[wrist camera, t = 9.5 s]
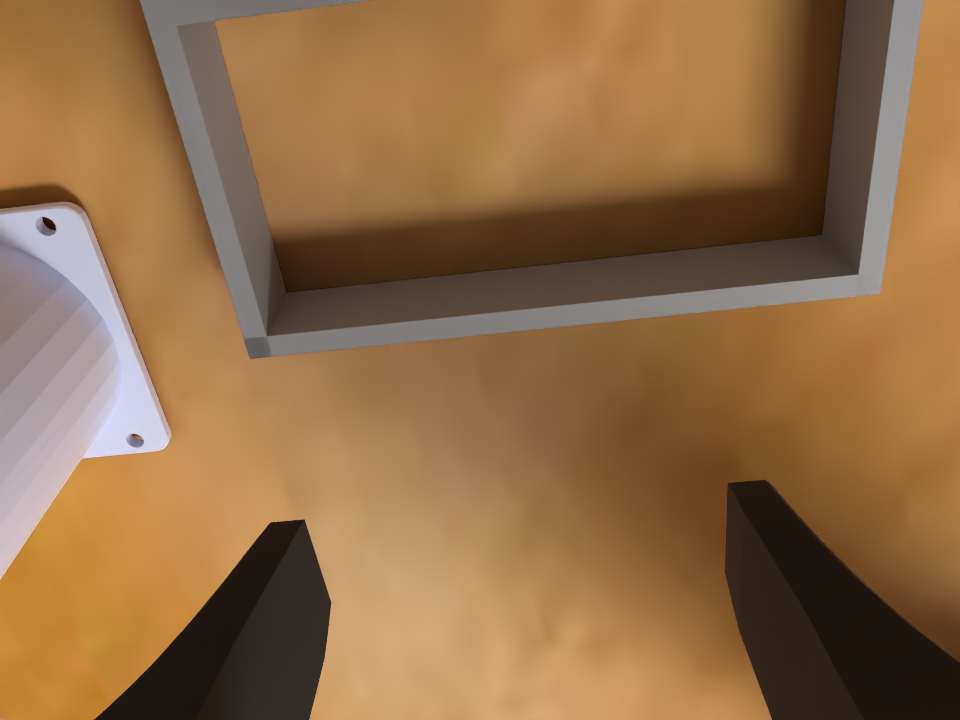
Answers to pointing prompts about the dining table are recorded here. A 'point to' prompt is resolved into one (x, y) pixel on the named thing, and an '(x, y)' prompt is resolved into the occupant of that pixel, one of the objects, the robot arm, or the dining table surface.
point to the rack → (554, 287)
